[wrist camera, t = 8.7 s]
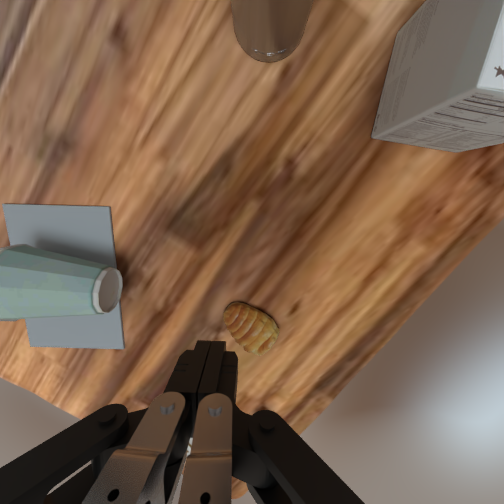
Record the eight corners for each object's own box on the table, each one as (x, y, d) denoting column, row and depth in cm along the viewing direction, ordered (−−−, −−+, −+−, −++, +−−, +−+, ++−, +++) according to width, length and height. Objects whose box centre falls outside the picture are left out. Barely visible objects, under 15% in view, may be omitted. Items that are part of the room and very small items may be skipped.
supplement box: (458, 155, 36) (646, 119, 19) (368, 139, 35) (475, 88, 18) (493, 48, 33) (755, -111, 16) (395, 30, 32) (553, -153, 15)
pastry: (214, 318, 42) (211, 330, 38) (241, 290, 41) (239, 300, 37) (256, 351, 43) (257, 366, 40) (283, 324, 42) (286, 337, 39)
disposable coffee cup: (93, 253, 30) (-35, 238, 29) (80, 344, 29) (-49, 330, 29) (134, 255, 40) (40, 244, 40) (124, 322, 40) (30, 311, 40)
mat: (4, 203, 38) (2, 204, 37) (110, 206, 38) (108, 206, 37) (32, 345, 43) (30, 346, 43) (124, 347, 43) (123, 349, 43)
